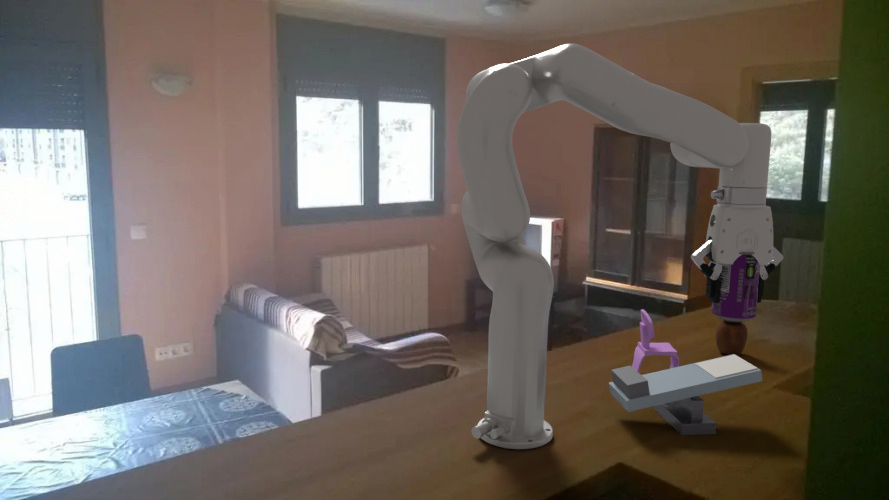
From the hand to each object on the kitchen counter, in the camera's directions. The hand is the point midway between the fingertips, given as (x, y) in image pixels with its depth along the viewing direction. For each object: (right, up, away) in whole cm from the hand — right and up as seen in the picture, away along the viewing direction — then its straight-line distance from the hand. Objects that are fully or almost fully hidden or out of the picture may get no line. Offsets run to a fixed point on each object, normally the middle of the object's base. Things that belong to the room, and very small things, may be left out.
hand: (733, 300), depth 120 cm
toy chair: (-7, -19, +24) cm, 31 cm away
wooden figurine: (+17, -16, +44) cm, 50 cm away
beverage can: (0, -3, 0) cm, 3 cm away
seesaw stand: (-8, -21, +4) cm, 23 cm away
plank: (-8, -16, +3) cm, 18 cm away
